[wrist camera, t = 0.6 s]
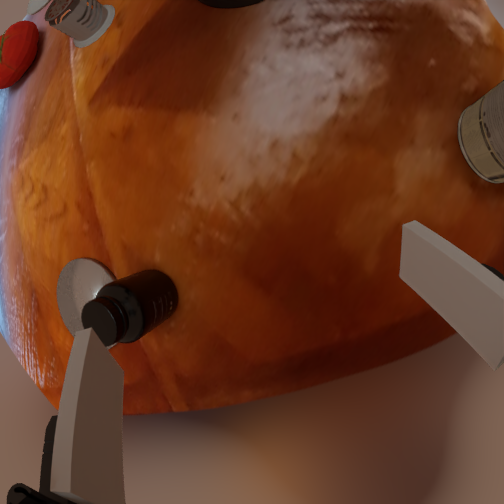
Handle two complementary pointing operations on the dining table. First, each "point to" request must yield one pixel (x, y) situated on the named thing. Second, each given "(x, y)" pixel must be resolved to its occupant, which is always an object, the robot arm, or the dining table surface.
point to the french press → (76, 18)
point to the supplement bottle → (130, 307)
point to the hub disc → (80, 289)
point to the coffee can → (484, 135)
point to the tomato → (17, 51)
